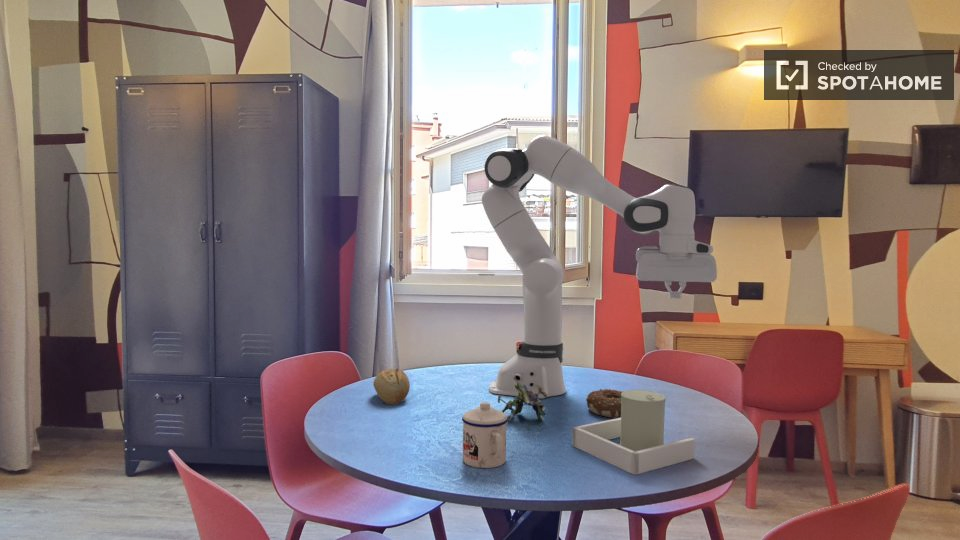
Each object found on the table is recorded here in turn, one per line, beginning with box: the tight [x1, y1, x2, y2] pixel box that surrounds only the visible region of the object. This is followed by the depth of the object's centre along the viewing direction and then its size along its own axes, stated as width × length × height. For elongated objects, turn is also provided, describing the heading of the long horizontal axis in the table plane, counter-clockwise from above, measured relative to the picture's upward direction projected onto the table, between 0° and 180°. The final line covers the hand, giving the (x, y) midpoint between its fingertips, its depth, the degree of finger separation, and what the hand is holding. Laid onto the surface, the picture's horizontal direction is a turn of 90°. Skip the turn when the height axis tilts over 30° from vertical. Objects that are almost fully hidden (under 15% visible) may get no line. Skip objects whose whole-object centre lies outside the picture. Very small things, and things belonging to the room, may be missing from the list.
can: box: [618, 389, 667, 452], centre depth 124 cm, size 9×9×12 cm
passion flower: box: [497, 382, 548, 423], centre depth 142 cm, size 11×11×12 cm
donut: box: [585, 388, 625, 419], centre depth 150 cm, size 14×14×5 cm
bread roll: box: [372, 368, 411, 406], centre depth 160 cm, size 10×15×8 cm, turn 21°
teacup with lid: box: [461, 401, 509, 469], centre depth 115 cm, size 12×9×12 cm
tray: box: [571, 418, 696, 476], centre depth 122 cm, size 17×18×4 cm
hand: (674, 298), depth 155 cm, fingers closed
